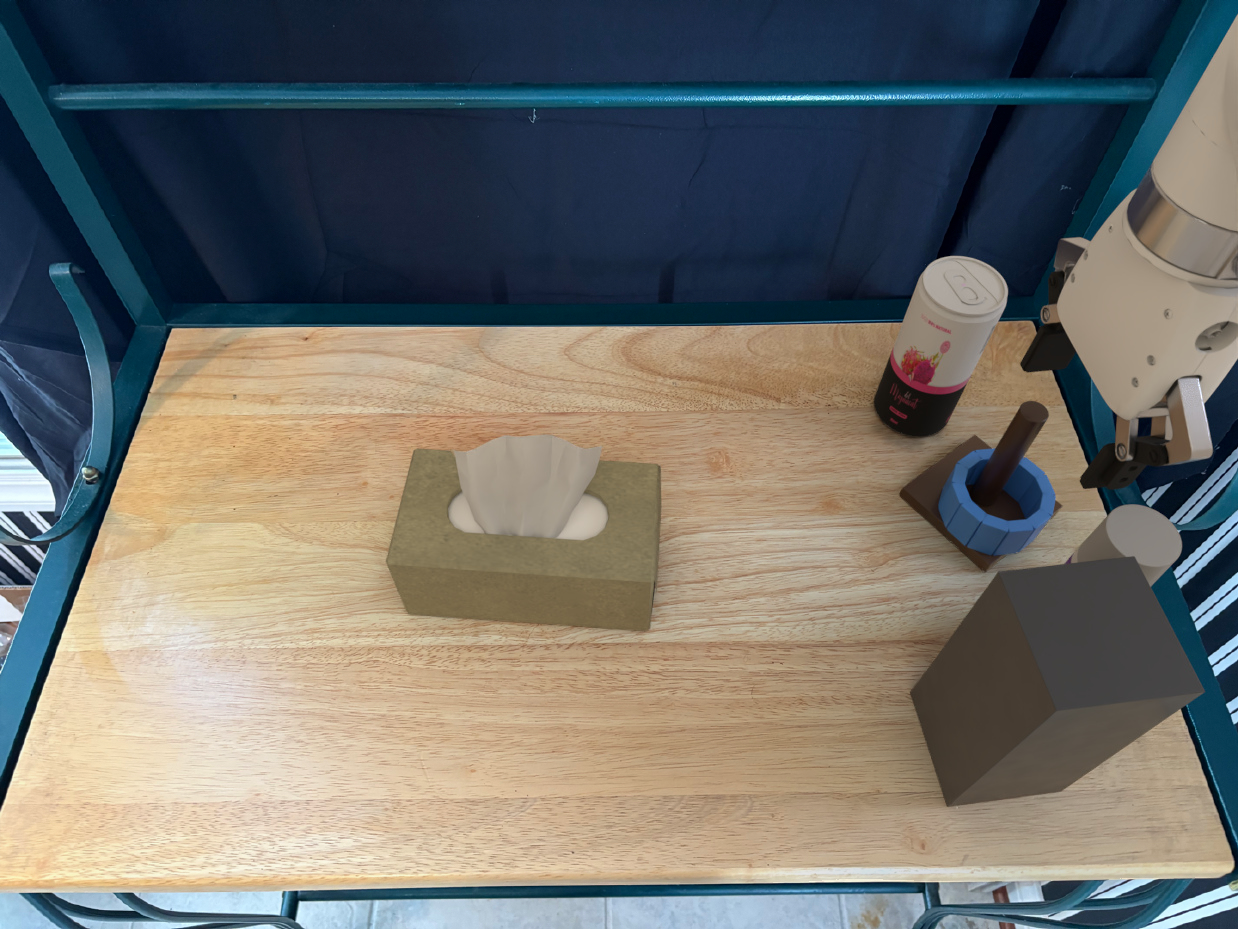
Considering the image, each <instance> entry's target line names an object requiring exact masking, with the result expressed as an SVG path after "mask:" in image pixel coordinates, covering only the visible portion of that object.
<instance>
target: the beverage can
mask: <svg viewBox="0 0 1238 929" xmlns="http://www.w3.org/2000/svg"><path fill="white" fill-rule="evenodd" d="M917 280H918V281H917V283H916V286H915V288H914V291H913V293H912V296H911V299H910V302H909V305H908V307H907V309H906V312H905V315H904V317H903V320H902V322H901V325H900V328H899V330H898V333H897V336H896V339H895V340H894V343H893V347H892V350H891V352H890V355H889V357H888V360H887V363H886V365H885V368H884V371H883V373H882V375H881V377H880V380H879V384H878V386H877V389H876V391H875V393H874V399H873V406H874V410H875V413H876V415H877V417H878V418H879V420H881V422H882V423H883V424H884V425H885V426H886V427H887V428H890V429H891V430H892V431H894V432H896V433H898V434H901V435H904V436H908V437H914V438H926V437H930V436H933V435H936V434H938V433H939V432H941V431H942V430H943V429H945V428H946V426H947V425H948V423H949V421H950V419H951V417H952V415H953V413H954V411H955V409H956V407H957V405H958V402H959V401H960V399H961V397H962V395H963V393H964V391H965V389H966V387H967V385H968V383H969V381H970V379H971V377H972V375H973V373H974V371H975V369H976V366H978V363H979V362H980V359H981V358H982V355H983V353H984V351H985V349H986V347H987V345H988V343H989V341H990V339H991V337H992V335H993V333H994V330H995V329H996V326H997V325H998V322H999V321H1000V318H1001V317H1002V315H1003V313H1004V311H1005V309H1006V307H1007V302H1008V295H1009V287H1008V285H1007V282H1006V280H1005V279H1004V277H1003V276H1002V275H1001V273H1000V272H999V271H997V269H996V268H994V267H993V266H992V265H990V264H988V263H986V262H984V261H982V260H979V259H976V258H974V257H968V256H963V255H950V256H944V257H940V258H938V259H935V260H933V261H932V262H930V263H929V264H928V265H927V267H925V269H924V271H923V272H922V273H921V274H920V276H919V277H918V279H917Z"/></svg>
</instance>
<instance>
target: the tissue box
mask: <svg viewBox="0 0 1238 929" xmlns="http://www.w3.org/2000/svg"><path fill="white" fill-rule="evenodd" d="M602 450H603V445H598V446H593V447H589V448H585V447H581V446H578V445H576V444H574V443H572V442H570V441H568V440H567V439H564V438H561V437H558V436H556V435H554V434H544V433H543V434H534V435H533V434H532V435H508V434H505V435H501V436H498V437H496V438H493V439H490V440H488V441H486V442H485V443H483V444H481V445H479V446H477V447H475V448H472V449H469V450H465V451H464V450H456V449H450V450H449V449H434V448H433V449H431V448H415V449H413V451H412V456H411V459H410V463H409V467H408V471H407V474H406V479H405V483H404V487H403V490H402V495H401V499H400V503H399V507H398V511H397V515H396V518H395V523H394V527H393V531H392V535H391V539H390V543H389V546H388V551H387V555H386V559H385V563H386V565H387V568H388V570H389V573H390V575H391V578H392V580H393V583H394V585H395V587H396V590H397V592H398V595H399V598H400V599H401V602H402V604H403V607H404V609H405V611H406V613H407V615H413V616H414V615H415V616H416V615H417V616H429V617H444V618H455V619H456V618H458V619H472V620H485V621H499V622H514V623H515V622H516V623H527V624H528V623H529V624H542V625H558V626H571V627H572V626H573V627H584V628H585V627H586V628H597V629H598V628H599V629H600V628H601V629H614V630H627V631H629V630H630V631H640V632H641V631H642V632H647V631H649V630H650V629H651V622H652V614H653V607H654V599H655V592H656V593H658V578H659V558H660V540H661V524H662V523H661V522H662V471H661V470H662V466H661V465H660V464H658V463H648V462H633V461H619V460H617V461H616V460H603V459H600V458H601V455H602Z"/></svg>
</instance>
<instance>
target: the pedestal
mask: <svg viewBox="0 0 1238 929" xmlns="http://www.w3.org/2000/svg"><path fill="white" fill-rule="evenodd" d="M1159 602H1160V601H1158V598H1157V597H1156V594H1155V593H1154V590H1153V589H1152V586H1151V587H1150V585H1149V583H1148V581H1147V579H1146V577H1145V575H1144V573H1143V571H1142V569H1141V567H1140V566H1139V564H1138V562H1137V560H1136V558H1135V556H1131V557H1122V558H1113V559H1104V560H1096V561H1087V562H1078V563H1069V564H1065V563H1062V564H1061V563H1060V564H1054V565H1045V566H1035V567H1026V568H1017V569H1008V570H1001V571H997V573H996V574H995V575H994V577H993V578H992V579H991V581H990V582H989V584H988V585H987V586H986V588H985V589H984V590H983V592H982V593H981V595H980V596H979V597H978V599H977V600H976V601H975V603H974V604H973V606H972V607H971V608H970V610H969V611H968V612H967V614H966V615H965V617H964V618H963V619H962V620H961V622H960V624H959V625H958V626H957V628H956V629H955V630H954V631H953V633H952V634H951V635H950V637H949V638H948V640H947V641H946V642H945V644H944V645H943V647H942V648H941V649H940V650H939V652H938V653H937V655H936V656H935V657H934V659H933V660H932V662H931V663H930V664H929V666H928V667H927V668H926V669H925V671H924V672H923V674H922V675H921V677H920V678H919V679H918V680H917V682H916V683H915V685H914V686H913V688H912V689H910V692H909V693H910V697H911V700H912V703H913V707H914V709H915V712H916V715H917V718H918V722H919V726H920V728H921V730H922V733H923V737H924V741H925V743H926V746H927V750H928V752H929V755H930V758H931V761H932V764H933V767H934V771H935V774H936V777H937V779H938V782H939V785H940V789H941V792H942V796H943V798H944V801H945V804H946V807H947V808H949V807H951V808H952V807H956V806H957V807H958V806H965V805H973V804H979V803H987V802H994V801H1002V800H1008V799H1009V800H1010V799H1017V798H1023V797H1030V796H1038V795H1046V794H1053V793H1061V792H1063V791H1064V790H1066V789H1067V788H1069V787H1070V786H1071V785H1073V784H1075V783H1076V782H1077V781H1079V780H1080V779H1082V778H1083V777H1084V776H1086V775H1087V774H1089V773H1091V771H1093V770H1095V769H1096V768H1097V767H1099V766H1100V765H1102V764H1104V763H1105V762H1106V761H1108V760H1110V758H1112V757H1113V756H1115V755H1117V754H1118V753H1119V752H1120V751H1122V750H1124V749H1125V748H1126V747H1128V746H1129V745H1130V744H1132V743H1134V742H1135V741H1136V740H1138V739H1140V738H1141V737H1142V736H1144V735H1145V734H1146V733H1148V732H1150V731H1151V730H1152V729H1154V728H1155V727H1157V726H1158V725H1159V724H1161V723H1162V722H1164V721H1165V720H1168V718H1170V717H1171V716H1173V715H1174V714H1176V713H1177V712H1178V711H1180V710H1181V709H1182V708H1184V707H1185V706H1187V705H1189V704H1190V703H1191V702H1193V701H1195V699H1197V698H1198V697H1200V696H1201V695H1203V694H1204V693H1206V691H1205V688H1204V687H1203V684H1202V683H1201V681H1200V679H1199V677H1198V675H1197V673H1196V671H1195V669H1194V667H1193V665H1192V664H1191V661H1190V660H1189V658H1188V655H1187V654H1186V652H1185V650H1184V648H1183V646H1182V645H1181V642H1180V640H1179V639H1178V637H1177V635H1176V633H1175V631H1174V629H1173V627H1172V625H1171V623H1170V622H1169V619H1168V617H1167V615H1166V614H1165V611H1164V610H1163V608H1162V606H1161V603H1159Z"/></svg>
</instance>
